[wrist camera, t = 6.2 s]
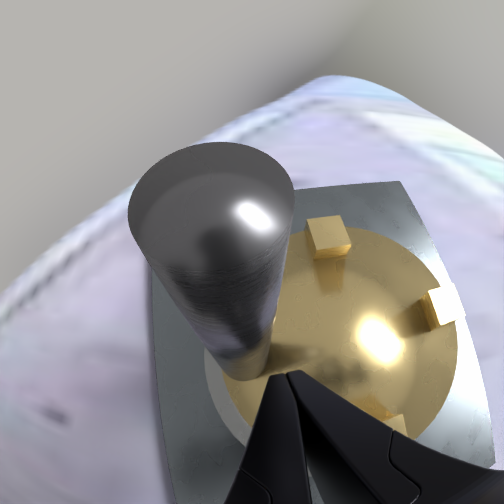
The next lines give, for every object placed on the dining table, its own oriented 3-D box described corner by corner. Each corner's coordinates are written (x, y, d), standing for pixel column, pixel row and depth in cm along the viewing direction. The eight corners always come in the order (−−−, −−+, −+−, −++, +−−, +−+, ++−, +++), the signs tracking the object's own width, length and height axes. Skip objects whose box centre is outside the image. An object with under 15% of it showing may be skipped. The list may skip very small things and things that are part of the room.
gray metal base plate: (490, 462, 11) (507, 462, 9) (194, 558, 9) (188, 572, 7) (397, 185, 23) (405, 169, 21) (155, 215, 21) (147, 198, 20)
